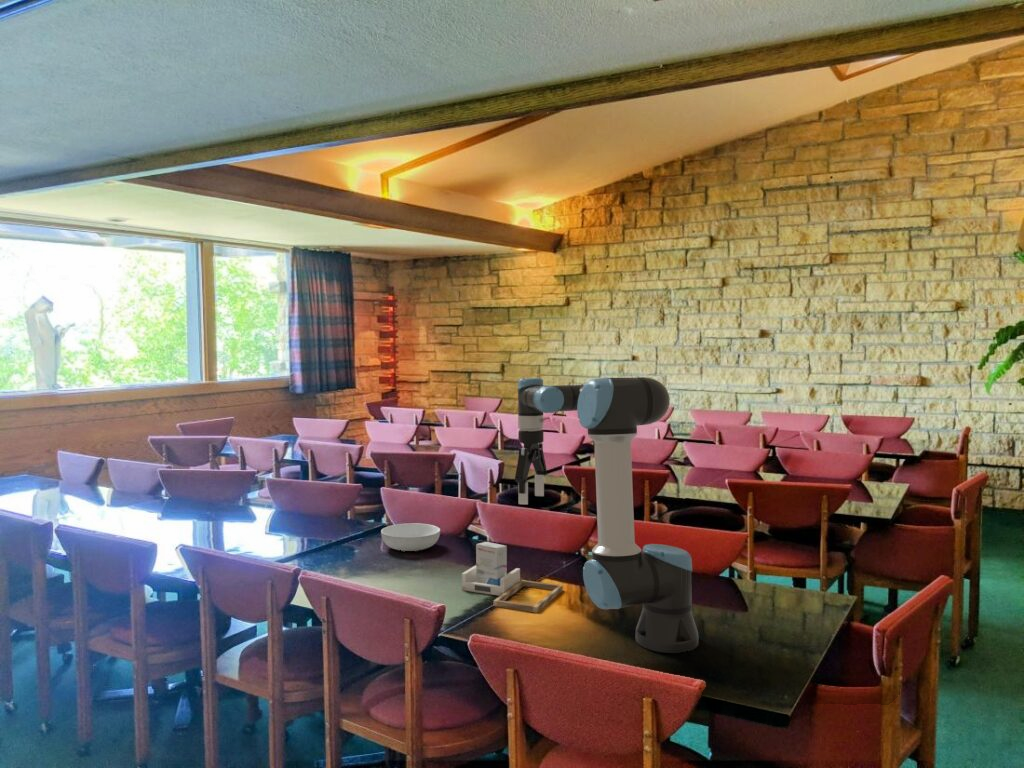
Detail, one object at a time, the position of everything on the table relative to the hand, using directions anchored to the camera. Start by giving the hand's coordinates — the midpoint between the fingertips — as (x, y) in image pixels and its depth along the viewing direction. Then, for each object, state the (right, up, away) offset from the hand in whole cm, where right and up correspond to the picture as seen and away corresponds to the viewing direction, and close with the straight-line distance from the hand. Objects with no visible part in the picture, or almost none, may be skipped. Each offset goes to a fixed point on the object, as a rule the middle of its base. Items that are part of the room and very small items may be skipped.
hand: (531, 500), depth 225 cm
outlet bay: (-12, -26, -1) cm, 29 cm away
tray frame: (-1, -26, -10) cm, 28 cm away
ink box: (-12, -25, -1) cm, 28 cm away
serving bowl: (-42, -24, +42) cm, 64 cm away
